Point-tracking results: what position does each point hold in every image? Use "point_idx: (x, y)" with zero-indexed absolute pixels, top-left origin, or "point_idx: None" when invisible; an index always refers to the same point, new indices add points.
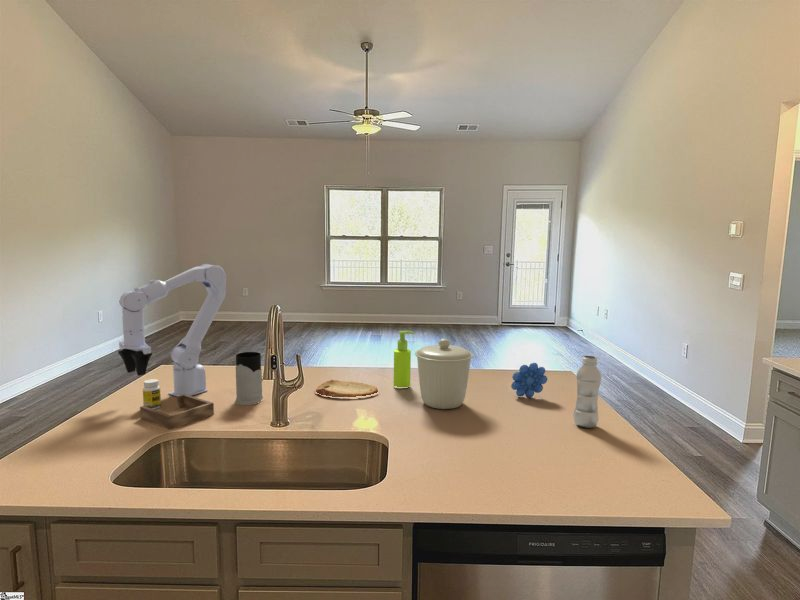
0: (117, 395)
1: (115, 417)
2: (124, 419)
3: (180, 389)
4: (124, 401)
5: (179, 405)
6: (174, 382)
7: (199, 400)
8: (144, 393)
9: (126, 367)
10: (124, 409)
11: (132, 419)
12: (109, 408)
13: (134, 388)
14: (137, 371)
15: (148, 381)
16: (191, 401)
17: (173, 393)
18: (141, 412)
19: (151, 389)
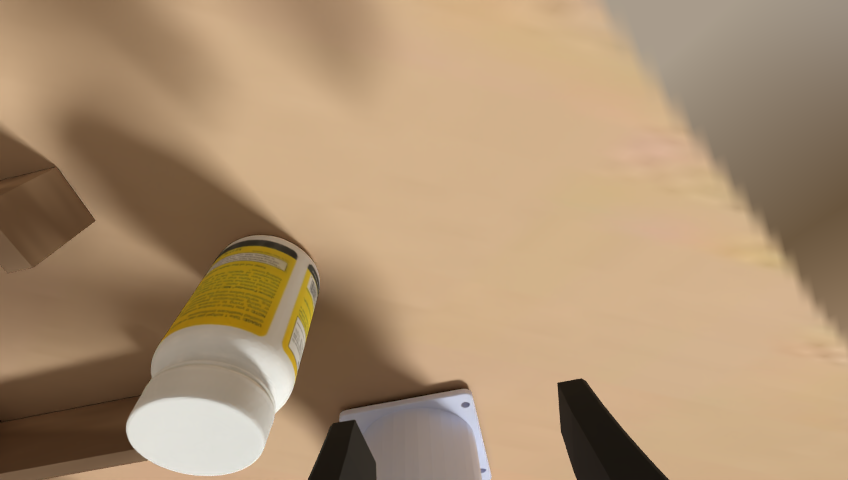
0: (706, 184)
1: (170, 28)
2: (85, 72)
3: (376, 448)
4: (529, 184)
5: None
6: (419, 473)
7: (20, 469)
8: (196, 311)
9: (596, 433)
10: (341, 136)
11: (62, 118)
12: (442, 53)
13: (743, 295)
14: (318, 469)
15: (186, 423)
16: (106, 436)
17: (430, 404)
18: (3, 190)
19: (152, 373)
